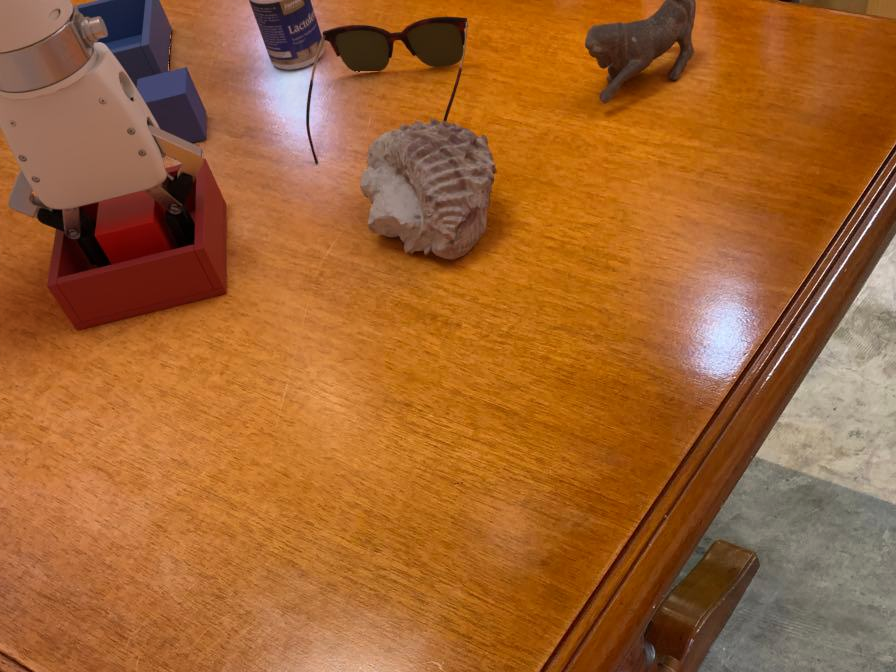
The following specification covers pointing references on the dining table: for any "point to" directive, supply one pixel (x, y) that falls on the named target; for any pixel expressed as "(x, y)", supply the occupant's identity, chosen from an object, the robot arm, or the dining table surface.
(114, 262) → the red block
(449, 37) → the sunglasses
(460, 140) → the seashell
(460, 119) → the dining table surface
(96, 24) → the robot arm
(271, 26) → the pill bottle
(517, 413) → the dining table surface
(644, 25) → the dog figurine
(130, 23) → the blue bin
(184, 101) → the blue block
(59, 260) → the maroon bin
